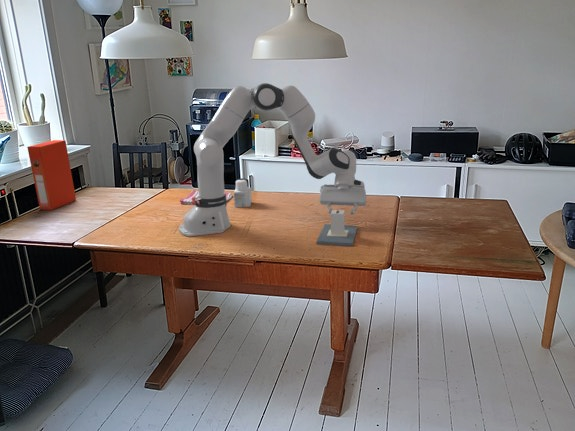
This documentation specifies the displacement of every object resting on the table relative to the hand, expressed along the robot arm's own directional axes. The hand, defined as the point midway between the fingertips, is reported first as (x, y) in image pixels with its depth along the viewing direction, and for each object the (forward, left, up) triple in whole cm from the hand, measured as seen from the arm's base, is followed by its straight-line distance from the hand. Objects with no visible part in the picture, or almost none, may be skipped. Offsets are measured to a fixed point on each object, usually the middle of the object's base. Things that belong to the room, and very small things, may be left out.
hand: (341, 213), depth 215 cm
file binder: (-106, +105, -6) cm, 149 cm away
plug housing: (-7, -8, -5) cm, 11 cm away
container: (-24, +53, -7) cm, 59 cm away
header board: (-7, -8, -6) cm, 12 cm away
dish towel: (-37, +71, -7) cm, 80 cm away
